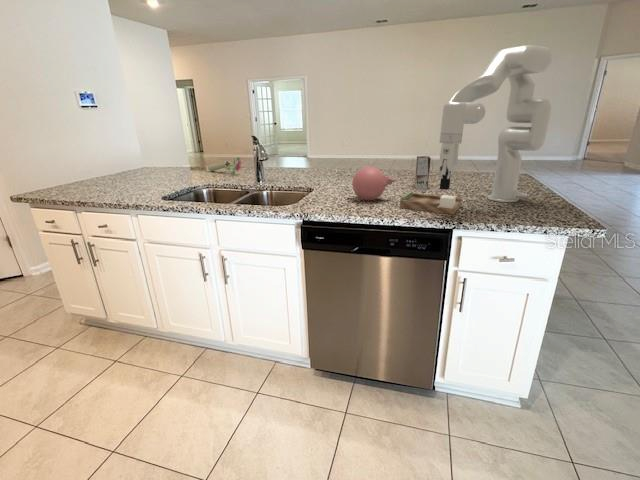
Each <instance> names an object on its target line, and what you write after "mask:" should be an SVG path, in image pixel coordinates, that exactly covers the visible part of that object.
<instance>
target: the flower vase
mask: <svg viewBox="0 0 640 480" xmlns="http://www.w3.org/2000/svg"><path fill="white" fill-rule="evenodd" d="M236 161H237V162H236ZM232 166H233V167H232ZM231 167H232V171H231V174H235V173H236V171H237V172H238V171H241V169H242V161H241V157H238V156H237V158H236V159H235V158H234V159H233V162H232V163H231V162H230V161H229V160H227V159H225V160H223V161H222V162H220V163H215V164H209V165H208V167H207V169H208V171H209V172H210V171H213V172H216V171H217V170H220V169H227V170H229V171H230V170H231ZM231 174H230V175H231Z"/></svg>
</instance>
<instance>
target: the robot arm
mask: <svg viewBox="0 0 640 480" xmlns="http://www.w3.org/2000/svg"><path fill="white" fill-rule="evenodd" d="M552 60H553V53H552V51H551V49H550V48H549V47H547V46H540V45H531V44H530V45H528V44H527V45H518V46H512V47H507V48H503V49H501V50H498V51H497V52H495V54H494V55H493V57H492V58H491V60H490V61H489V62H488V63H487V65H486V67H485V68H483V71H482V72H481V73H480V75H479V76H478V77H477V78H475V79H473V80H472V81H470V82H469V83H468V84H466V85H464V86H462V88H460V89H459V90H458V91H457V92H456V93H454V94H453V96H452V97H451V99H450V100H449V101H448V102H446V103H445V104H444V105H443V108H442V114H441V115H442V116H441V126H440V134H439V144H441V148H440V153H439V154H440V155H439V162H438V170H439V172H440V173H441V175H440V183H439V190H447V191H448V190H449V189H450V187H451V176H452V172H454V171H455V170H457V169H458V161H459V149H460V148H459V147H460V145H459V144H462V139H463V133H464V126H465V125H475V124H478V123H479V122H481V121H482V120H483V119H484V117H485V114H486V109H485V106H484V104H483V103H481V102H480V101H479V102H478V101H477V100H479V99H483V98H486V97H488V96H490V95H493V94H494V93H496V92H497V91H498V90H500V87H501V86H502V85H503V83H504V82H505V81H506V79H507V78H508V81H509V85H510V91H509V97H508V104H507V109H506V120H507V121H508V122H509V123H513V124H530V126H522V125H521V126H517V125H514V126H511V125H510V126H508V127H504V128H503V129H502V130H501V131H500V132H499V134H498V137H497V147H498V148H497V149H498V151H497V159H496V164H495V172H494V178H493V184H492V189H491V193H490V194H488V195H487V197H486V198H487V199H488V200H490V201H492V202H498V203H517V202H518V201H519V199H520V198H522V199H523V198H525V199H527V197H528V193H525V192H520V191H518V182H519V178H520V172H521V167H522V156H521V153H520V151H522V152H523V151H524V152H525V151H526V152H536V151H540V150H541V148H542V147H543V146H544V143H545V142H546V136H547V132H548V128H549V123H550V120H551V115H552V104H551V101H550V100H549V99H548V98H545V97H534V92H535V86H536V85H535V80H534V78H533V77H532V75H531V74H540V73H541V74H542V73H544V72H546V71H547V70H548V69H549V67H550V66H551V64H552Z"/></svg>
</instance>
